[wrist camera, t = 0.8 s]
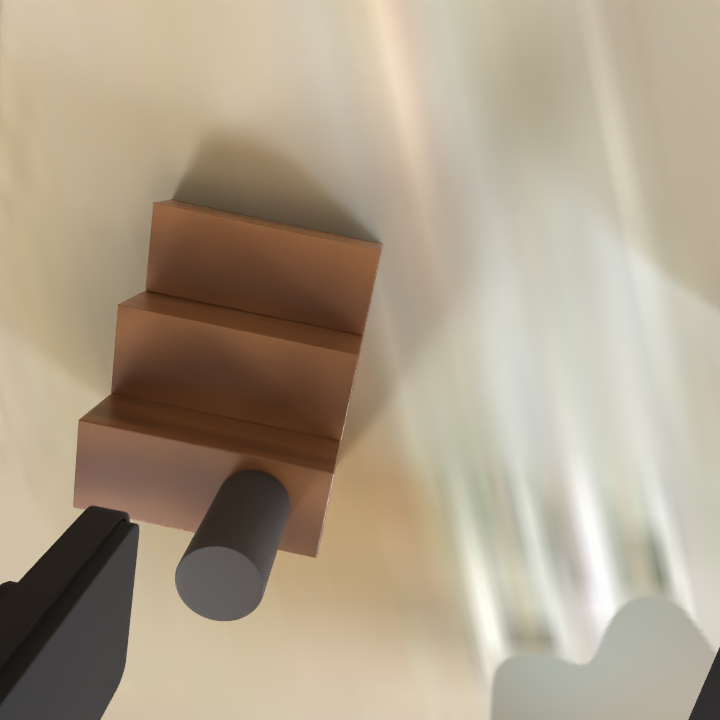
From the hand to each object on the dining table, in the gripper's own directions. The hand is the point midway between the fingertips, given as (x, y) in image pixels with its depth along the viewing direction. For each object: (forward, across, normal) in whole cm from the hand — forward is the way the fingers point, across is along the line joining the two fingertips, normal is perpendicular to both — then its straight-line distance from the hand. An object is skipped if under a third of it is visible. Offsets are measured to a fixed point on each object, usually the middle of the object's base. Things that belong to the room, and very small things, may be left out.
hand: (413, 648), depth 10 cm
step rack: (+33, +9, +5) cm, 35 cm away
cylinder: (+22, +6, +11) cm, 26 cm away
